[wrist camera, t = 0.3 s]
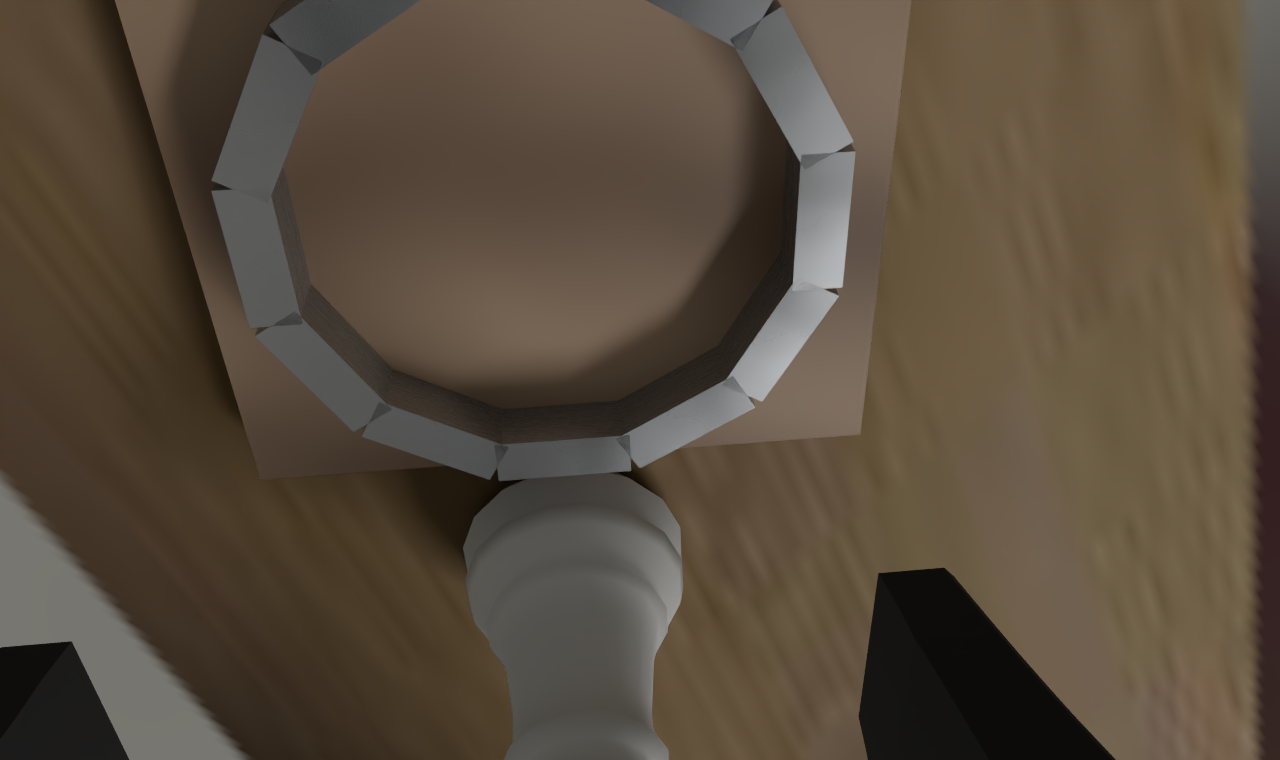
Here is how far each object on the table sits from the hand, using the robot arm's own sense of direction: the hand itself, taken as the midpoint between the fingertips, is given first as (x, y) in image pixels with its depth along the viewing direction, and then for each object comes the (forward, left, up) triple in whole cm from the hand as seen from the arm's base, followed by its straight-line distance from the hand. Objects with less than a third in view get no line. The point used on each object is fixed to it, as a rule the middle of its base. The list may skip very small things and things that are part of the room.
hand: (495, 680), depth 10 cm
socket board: (0, -1, -10) cm, 10 cm away
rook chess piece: (-8, -1, -10) cm, 13 cm away
